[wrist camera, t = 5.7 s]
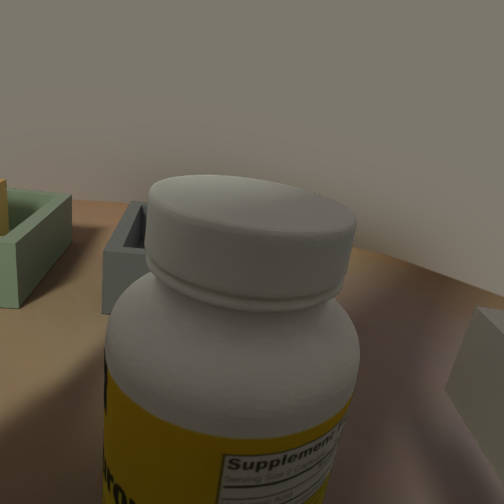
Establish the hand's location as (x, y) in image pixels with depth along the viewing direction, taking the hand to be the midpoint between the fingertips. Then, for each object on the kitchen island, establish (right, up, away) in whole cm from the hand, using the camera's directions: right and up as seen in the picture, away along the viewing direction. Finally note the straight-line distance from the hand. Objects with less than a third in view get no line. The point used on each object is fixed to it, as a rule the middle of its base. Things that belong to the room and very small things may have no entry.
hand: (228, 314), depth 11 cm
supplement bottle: (-1, -6, 0) cm, 6 cm away
